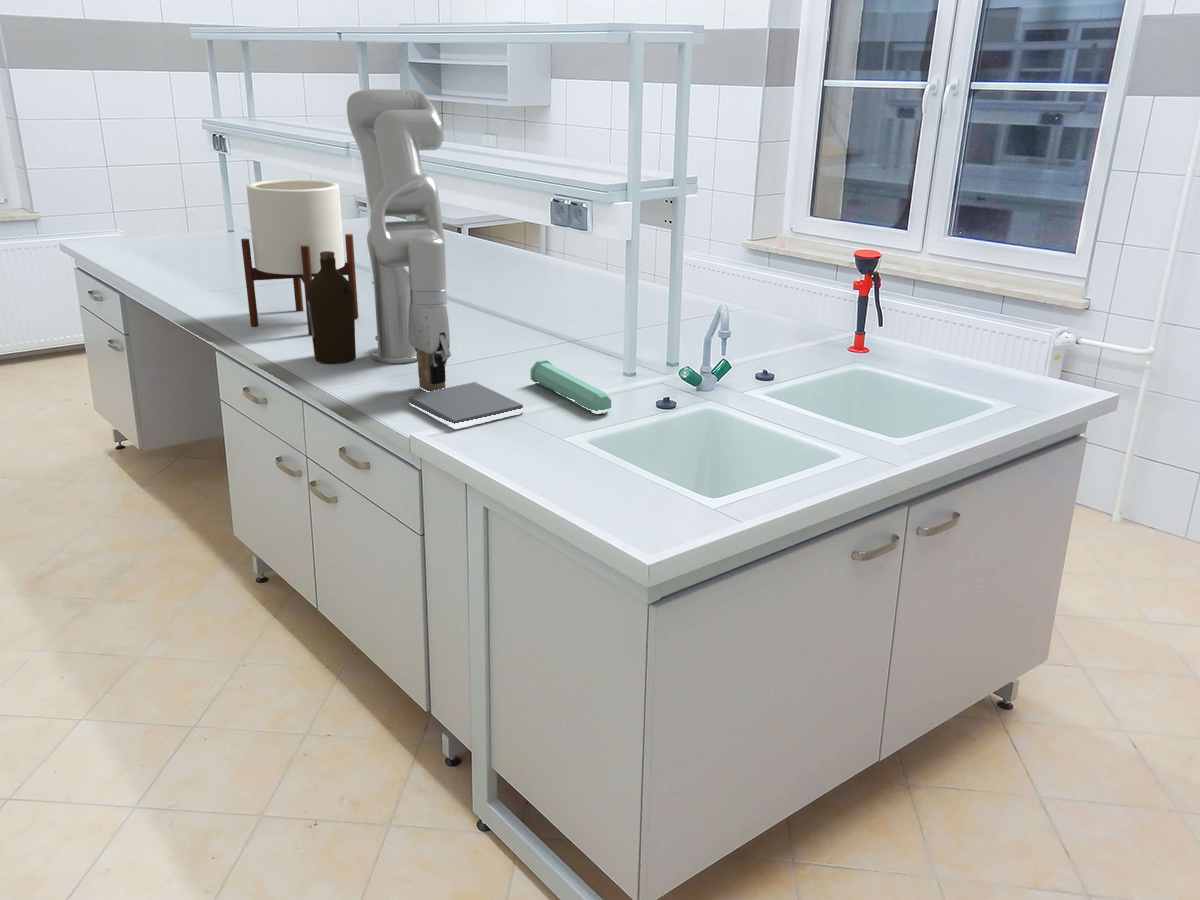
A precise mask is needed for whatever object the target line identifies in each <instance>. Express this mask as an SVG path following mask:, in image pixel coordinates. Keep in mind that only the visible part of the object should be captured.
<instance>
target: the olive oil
mask: <svg viewBox="0 0 1200 900" xmlns="http://www.w3.org/2000/svg"><path fill="white" fill-rule="evenodd" d="M320 256H321V258H320V265H321V269H320V271H319V272H318V273H317V275H316V276H315V277H312V281H311V282H310V283H309V285H308V288H307V304H308V311H309V318H310V325H311V332H312V336H311V338H312V346H313V354H314V360H315V361H316V362H318V363H320V364H325V365H337V364H346V363H349V362H352V361H355V359H356V358H357V355H356V353H357V351H356V350H357V348H356V326H355V325H356V324H355V323H356V319H355V313H354V291H353V288H352V286H351V284H350V282H349V281H348V278H346V277H345V275H342V274H341V273H340V272H339V271H338V270H337V269H336V263H335V258H334V252H330V251H325V252H321V253H320Z"/></svg>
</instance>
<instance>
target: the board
mask: <svg viewBox="0 0 1200 900" xmlns="http://www.w3.org/2000/svg"><path fill="white" fill-rule="evenodd" d="M409 402H410V403H411V404H413V405H415V406H417V407H419V408H421V409H423V410H425V411H427V412H429V413H431V414H433V415H435V416H437V417H439V418H442V419H444V420H446V421H449V422H452V423H454V424H455V423H459V422H464V421H469V420H473V419H478V418H482V417H487V416H491V415H496V414H500V413H504V412H508V411H512V410H516V409H521V408H523V409H524V406H523V404H522V403H519V402H518V401H516V400H514V399H511V398H509V397H508V396H505V395H503V394H501V393H498V392H496V391H495V390H493V389H490V388H489V387H487V386H484V385H482V384H480V383H477V382H476V381H474V382H473V381H472V382H469V383H464V384H459V385H454V386H450V387H445V388H444V389H439V390H435V391H430V392H425V391H424V392H422V393H418V394H417V393H416V394H411V395H408V403H409Z"/></svg>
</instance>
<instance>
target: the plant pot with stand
mask: <svg viewBox="0 0 1200 900" xmlns="http://www.w3.org/2000/svg"><path fill="white" fill-rule="evenodd" d="M340 194H341V193H340V185H339V184H338V183H336V182H334V181H328V180H324V179H323V180H319V179H304V178H303V179H299V178H298V179H296V178H295V179H294V178H292V179H291V178H290V179H270V180H262V181H255V182H251V183H249V184H247V185H246V195H247V204H248V212H249V221H250V222H249V223H250V230H251V231H250V232H251V240H252V250H251V245H250V243H251V242H250V239H249V238H241V240H240V243H241V250H242V257H243V259H242V260H243V267H244V269H243V270H244V276H245V277H244V278H245V287H246V294H247V296H246V297H247V302H248V303H247V304H248V312H249V320H250V321H249V322H250V327H251V328H257V326H258V327H259V325H260V324H259V315H258V308H257V299H256V289H255V281H268V280H285V279H292V281H293V293H294V304H295V311H296V312H297V311H302V312H304V301H303V300H304V299H303V292H302V291H303V290H302V283H303V285H304V287H303V288H304V296H305V297H304V298H305V307H306V308H305V310H306V317H307V318H306V320H307V321H306V322H307V331H308V332H307V333H308V336H310V337H312V332H311V325H310V318H309V311H308V304H307V288H308V285H309V283H310V282H311V281H312V279H313V278H314V277H315V276H316V275H317V273H318V272H319V271H320V269H321V265H320V258H321V256H320V253H321V252H325V251H330V252H334V258H335V263H336V269H337V270H338V271H339V272H340V273H341V274H342V275H343V276H347V280H348V281H349V282H350V284H351V286H352V288H353V291H354V313H355V320H358V319H359V306H358V304H359V303H358V291H357V276H356V275H357V274H356V262H355V260H356V259H355V249H354V247H355V246H354V236H353V233H345V235H344V236H345V240H344V237H343V220H342V210H341V196H340ZM344 241H345V248H344ZM344 249H345V250H344ZM251 251H253V258H254V259H253V260H254V267H253V260H252V255H251V254H252V253H251ZM345 251H346V262H345ZM357 318H358V319H357Z"/></svg>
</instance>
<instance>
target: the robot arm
mask: <svg viewBox="0 0 1200 900" xmlns="http://www.w3.org/2000/svg"><path fill="white" fill-rule="evenodd" d="M346 102H347V103H346V114H347V121H348V125H349V128H350V131H351V134H352V136H353V139H354V140H355V143H356V146H357V148H358V151H359V153H360V157H361V160H362V161H361V162H362V167H363V168H362V169H363V176H364V182H365V183H364V184H365V189H366V195H367V200H368V201H367V202H368V207H369V208H370V210H371V211H370V216H369V217H370V218H369V219H370V221H369V222H370V228H369V230H368V232H367V234H366V243H367V249H368V253H369V256H370V257H369V259H370V262H371V268H372V277H373V278H372V279H373V289H374V290H373V291H374V304H375V318H376V319H375V321H376V333H377V334H376V336H375V338H374V339H375V341H377V348H374V350H372V351H371V357H372V359H373V360H375V361H377V362H380V363H385V364H407V363H408V364H409V363H413V362H418V349H419V350H421V351H423V352H425V353H428V354H431V360H432V365H433V366H431V383H432V384H433V385H434V384H439V383H444V382H445V383H446V365H447V361H448V359H449V358H450V357H452V355H451V354H452V353H451V350H450V347H451V336H450V335H451V334H450V325H449V324H450V323H449V316H448V309H447V304H448V299H447V298H448V296H447V295H448V293H447V292H448V291H447V270H446V267H447V266H446V265H447V264H446V244H445V243H446V242H445V232H444V226H443V219H442V218H443V217H442V211H441V203H440V197H439V191H438V188H437V187H438V186H437V183H436V181H435V180H434V179H433V177H432V176H430V175H429V174H427V173H424V172H423V166H422V161H421V156H420V152H421V151H422V152H423V151H437V150H438V149H440V147H441V146H442V145H443V141H444V128H443V124H442V120H441V117H440V116H439V113H438V111H437V110H436V108H435V107H434V105H433V103H432V102H431V101H430V99H429V98H428V96H426V94H425V93H424V92H422V91H420V90H416V89H389V88H387V89H382V88H381V89H380V88H379V89H378V88H377V89H375V88H374V89H363V90H362V89H361V90H357V91H355V92H353V93H351V94H350V95H349V96H348V99H347V101H346ZM406 216H408V217H409V216H414V217H415V216H416V217H417V218H418V220H410V221H409V220H408V221H407V220H403V221H400V220H399V221H387V222H386V217H406ZM405 267H408V270H406V268H405ZM437 348H440V351H437ZM436 354H440V356H438V358H437V359H436ZM417 370H418V372H417V373H418V375H419V364H418V363H417Z"/></svg>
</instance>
